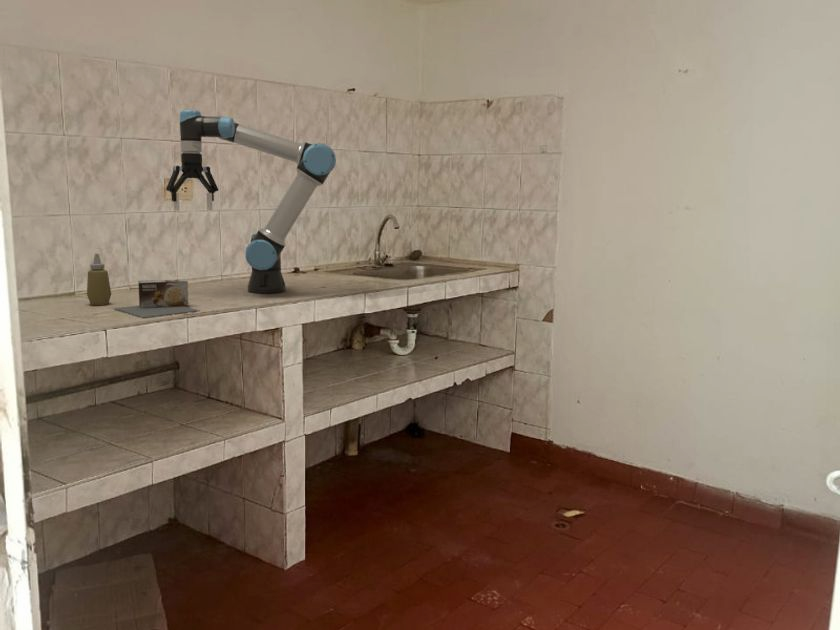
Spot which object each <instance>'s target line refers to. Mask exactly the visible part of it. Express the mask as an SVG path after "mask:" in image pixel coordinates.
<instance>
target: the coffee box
mask: <svg viewBox="0 0 840 630" xmlns="http://www.w3.org/2000/svg"><path fill="white" fill-rule="evenodd" d="M137 282H138V301H139V305H138V306H140V308H153V307H174V306H185V307H189V287H188V286H189V284H188V280H187V279H186V278H182V279H155V280H154V279H153V280H152V279H151V280H138V281H137Z"/></svg>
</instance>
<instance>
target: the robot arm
mask: <svg viewBox="0 0 840 630" xmlns="http://www.w3.org/2000/svg"><path fill="white" fill-rule="evenodd" d="M178 123H179V136H180V152H181V155H180V160H181V166H180V165H174V166H173V170H172V173H171V175H170V176H171V177H169V178H170V179H169V181H168V183H167V185H166V188H165V190H166V191H167V192H169V193H170V194H171V195H170V196H171V202H173V210H174V211H177V212H178V211H180V193H178V190H179V189H180V188H181V186H182V185H183V184H184V183H185V182H186V180H187V179H197V180H199V182H200V183H201V184H202V186H203V187H204V188H205V190H206V191H207V192H206V210H207V211H213V202H214V200H215V193H216V192H218V191H219V186H218V185H217V184H216V181H215V178H214V176H213V175H212V173H211V167H210V166H203V155H202V152H203V147H202V146H203V145H202V144H203V143H202V138H217V139H220V140H223V141H226V142H229V143H230V142H231V143H233V144H234V143H235V144H238V145H240V146H244V147H247V148H249V149H253V150H256V151H259V152H262V153H264V154H265V153H266V154H268V155H272V156H275V157H278V158H281V159H284V160H287V161H291V162H294V163H296V164H297V166H296V168H295V169H296V172H297V173H296V176H295V177H294V179H293V180H292V182H291V184H290V186H289V187H288V189H287V191H286V193H285V194H284V195H283V197H282V199H281V200H280V201H279V204H278V205H277V207H276V208H275V210H274V212H273V214H272V215H271V217H270V218H269V220H268V222H267V224H266V225H265V227H263V228H259V229H258V230H257V232H256V233H254V234H251V236H250V243H249V244H247V246H246V249H245V252H244V253H245V256H244V257H245V259H246V262H247V264H248V265H249V266H250V267H251V274H250V277H249V281H248V284H247V292H249V293H255V294H278V293H283V292H286V291H287V290H286V287H287V286H286V283H285V280H284V277H283V274H282V259H281V257H282V254H281V253H282V252H283V250H284V249H285V247H286V242H285V239H286V237H287V236H288V234H289V232H290V231H291V229H292V228H293V226H294V225H295V223H296V221H297V220H298V219H299V216H300V215H301V213H302V211H303V210H304V208H305V206H306V205H307V203H308V202H309V200H310V198H311V197H312V195H313V194H314V192H315V190H316V189H317V187H319V186H323V185H324V184H325V181H326V180H327V178H328V177H329V175H330V174H331V172H332V171H333V170H334V169H335V166H336V161H337V159H336V154H335V151H334V150H333V148H331V146H329V145H327V144H325V143H322V142H315V143H309V142H302V143H301V142H297V141H294V140H291V139H289V138H284V137H282V136H279V135H275V134H271V133H268V132H265V131H262V130H258V129H255V128H253V127H250V126H246V125H243V124H239V123H237V122H235V121H234V118H233V117H229V116H204V115H202V114H201V111H200V110H198V109H197V110H196V109H183V110H181V111H180V112H179V122H178ZM180 172H182V174H181V175H180V177H179V174H180ZM203 173H204V174H203ZM204 175H205V176H204ZM178 177H179V178H178ZM205 177H206V178H205ZM177 179H178V180H177Z"/></svg>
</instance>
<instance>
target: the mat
mask: <svg viewBox="0 0 840 630" xmlns="http://www.w3.org/2000/svg"><path fill="white" fill-rule="evenodd" d="M114 309H115V311H118V312H121V313H124V312H125V313H124V314H127V313H128V315H130V314H132V315H131V316H134V315H135V316H134V317H137V316H138V317H137V318H140V317H142V318H141V319H148V318H147V317H151V318H156V317H155V316H159V317H164V316H163V315H167V316H173V315H172V314H175V315H180V314H179V313H184V314H189V313H188V312H192V313H198V312H197V311H201V310H200V309H196V308H191V307H189V306H174V307H153V308H140V306H139V305H132V306H131V305H130V306H123V307H114V308H113V310H114Z"/></svg>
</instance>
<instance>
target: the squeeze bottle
mask: <svg viewBox="0 0 840 630" xmlns="http://www.w3.org/2000/svg"><path fill="white" fill-rule="evenodd" d="M89 266H90V270H88V271H87V285H86V296H87V299H88V301H89V304H90V305H91V306H105V305H106V306H107V305H109V304H110V300H111V296H112V290H111V285H110V284H111V283H110V278H109V273H108V270H106V269H105V267H106V266H105V264H104V263H102V261H101V258H100V254H99V253H94V258H93V263H91V264H89Z"/></svg>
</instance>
